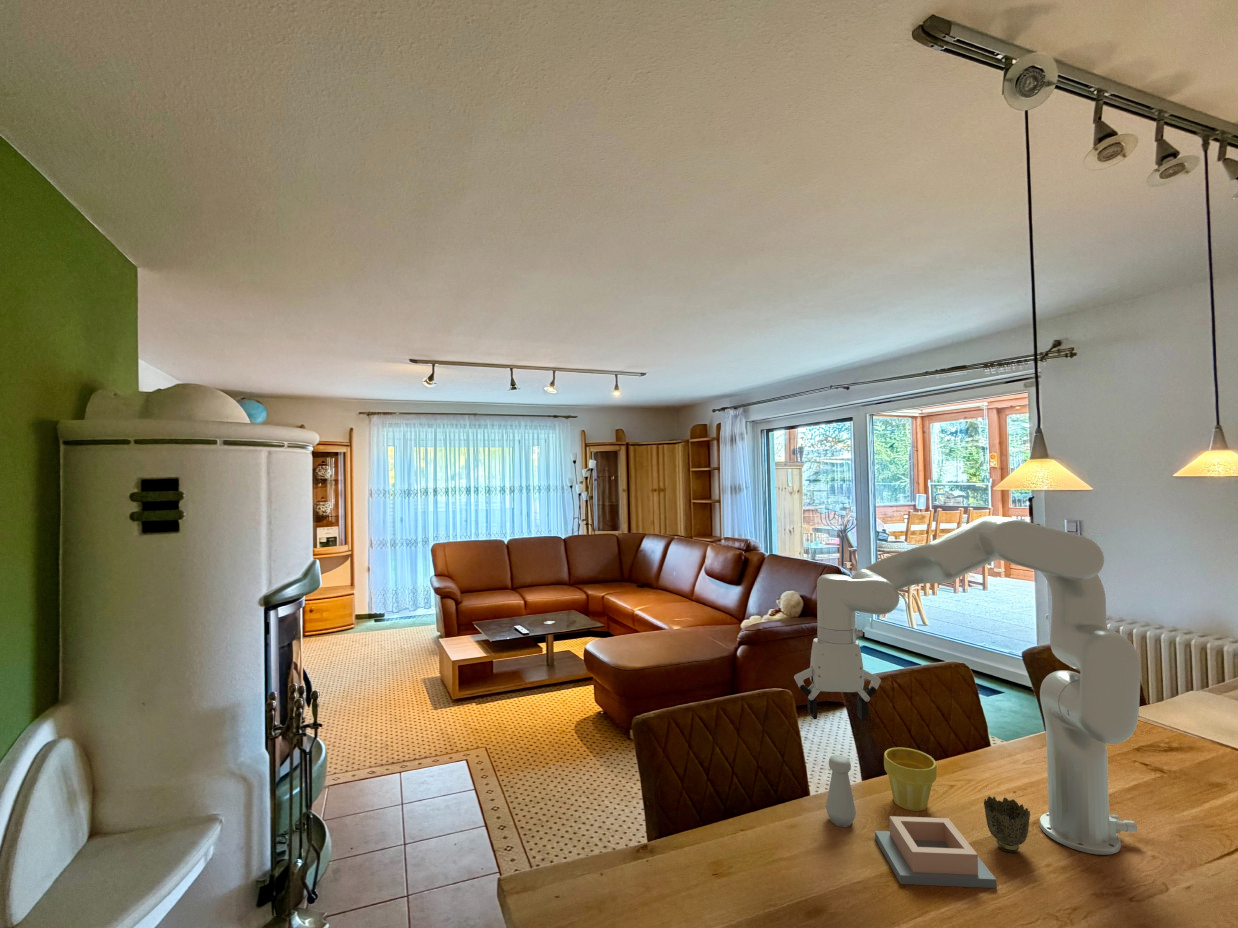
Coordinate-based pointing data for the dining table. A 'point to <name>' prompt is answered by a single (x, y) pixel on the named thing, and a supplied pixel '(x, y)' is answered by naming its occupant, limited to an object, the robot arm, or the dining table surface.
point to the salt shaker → (840, 793)
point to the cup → (1007, 822)
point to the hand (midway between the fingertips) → (837, 717)
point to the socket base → (932, 854)
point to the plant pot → (910, 777)
